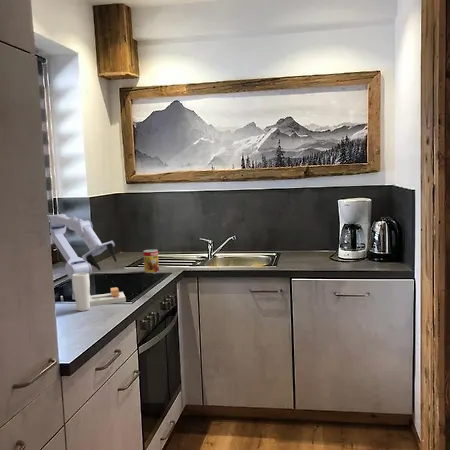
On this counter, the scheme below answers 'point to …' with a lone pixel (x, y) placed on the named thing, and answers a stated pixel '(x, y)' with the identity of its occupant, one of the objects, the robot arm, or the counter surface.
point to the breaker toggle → (115, 291)
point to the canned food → (151, 261)
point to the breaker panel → (106, 299)
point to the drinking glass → (81, 290)
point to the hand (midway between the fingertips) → (107, 264)
